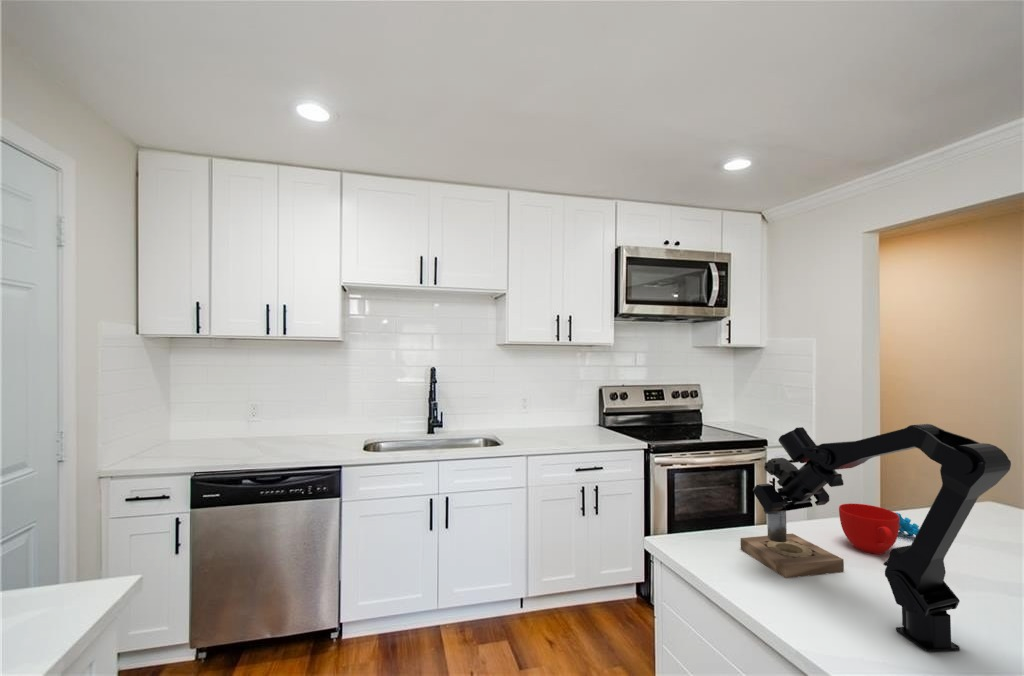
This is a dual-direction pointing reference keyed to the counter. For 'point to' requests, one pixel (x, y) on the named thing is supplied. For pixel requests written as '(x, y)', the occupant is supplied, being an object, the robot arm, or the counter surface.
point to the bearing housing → (792, 556)
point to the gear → (907, 526)
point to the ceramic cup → (869, 527)
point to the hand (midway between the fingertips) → (772, 511)
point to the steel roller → (777, 526)
